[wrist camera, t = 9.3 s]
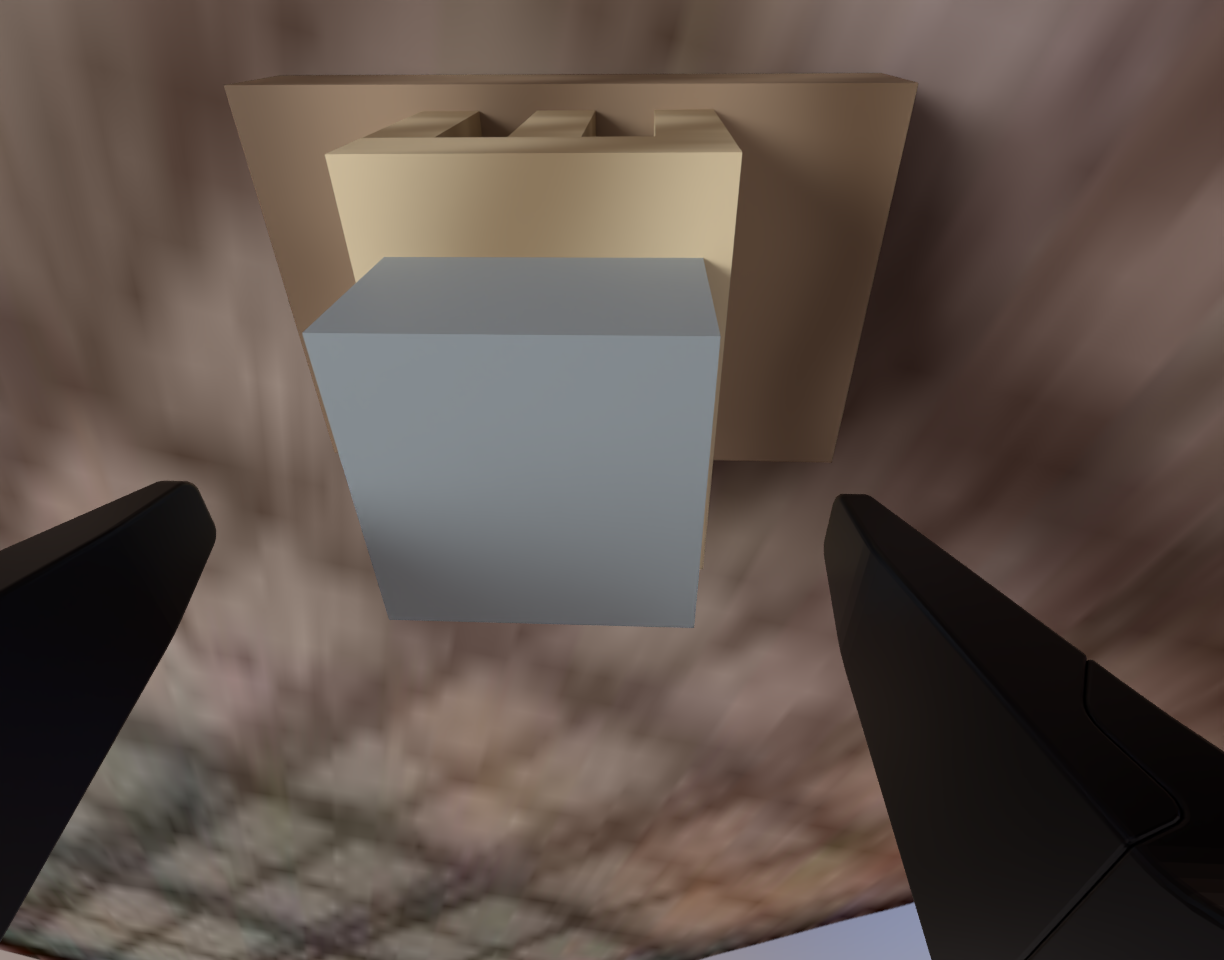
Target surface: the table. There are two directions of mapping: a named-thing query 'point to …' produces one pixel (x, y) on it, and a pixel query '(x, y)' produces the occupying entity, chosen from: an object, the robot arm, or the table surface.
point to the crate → (526, 434)
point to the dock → (745, 103)
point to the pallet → (545, 195)
